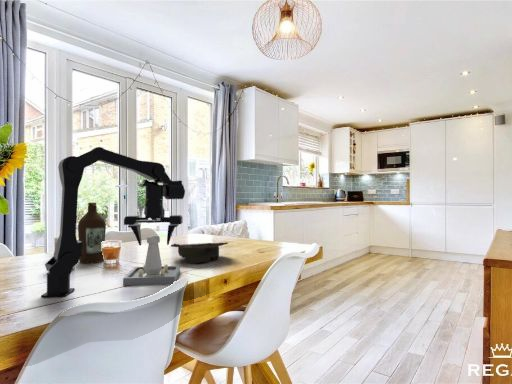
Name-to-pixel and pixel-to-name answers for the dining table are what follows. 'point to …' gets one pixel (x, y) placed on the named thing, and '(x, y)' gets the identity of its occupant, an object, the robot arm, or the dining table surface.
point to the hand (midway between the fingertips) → (154, 245)
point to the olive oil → (91, 235)
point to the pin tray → (152, 276)
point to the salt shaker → (153, 256)
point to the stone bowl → (199, 251)
